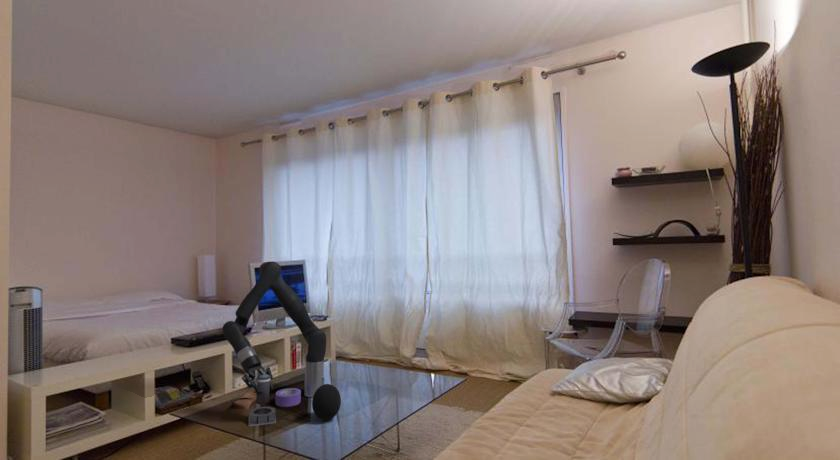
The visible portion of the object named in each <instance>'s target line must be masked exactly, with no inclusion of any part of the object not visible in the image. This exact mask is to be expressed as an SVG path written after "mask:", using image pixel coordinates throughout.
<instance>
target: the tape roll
mask: <svg viewBox="0 0 840 460" xmlns="http://www.w3.org/2000/svg"><path fill="white" fill-rule="evenodd" d="M301 395H302V390H301V389H299V388H296V387H288V388H282V389H279V390H277V391H276V392H275V398H274V399H275V403H274V404H275V405H276V406H277V407H285V408H288V407H289V408H290V407H294V406H298V405H299V404H300V403H301V400H302V399H301V397H302V396H301Z"/></svg>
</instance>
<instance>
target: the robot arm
mask: <svg viewBox="0 0 840 460" xmlns="http://www.w3.org/2000/svg"><path fill="white" fill-rule="evenodd" d="M258 274H259V277H258V280H257V282H256V283H255V284H254V286H253V288H251V290H250V291H249V292H248V293H247V294H246V295H245V297H244V298H243V299H242V301H241V303H240V304H239V306H238V308H237V309H236V310H235V320H234V321H233V320H229V321H227V322H225V323H224V324H223V326H222V335H223V336H224V338H225V340H227V342H228V343H229V344H230V345H231V347H232V349H233V351H234V353H235V355H236V357H237V360H238V362H239V364H240V366H241V367H242V370H243V371H244V374H243V375H242V376H241V380H242V381H243V382H244V384H245V385H246V386H247V387H248V388H249V389H252V388H253V390H254V391H255V393H256V394H258V395H261V393H262V390H261V388H260V386H259V385H258V382H257V377H258V376H259V375H264V374H266V375H270V389H269V392H272V391H273V389H274V385H273V384H272V380H273V378H274V376H273V374H272V370H271V368H270V367H269V366H267V367H266V368H264V366H262V362H261V359H260V357H259V356H258V354H257V353H256V350H255V349H254V347H253V345H252V344H251V343H250V341H249V339H248V338H247V337H245V336H244V333H245V332H246V329H247V328H248V327H247V326H248V324H249V321H250V318H251V316H252V315H253V314H254V312H255V310H256V309H257V307H258V305H259V304H260V302H261V301H262V299H263V297H265V295H266V293H268V290H269V288H270V290H271V291H272V292H273V294H274V295H275V298H276V299H277V301H278V302H279V304H280V306H281V307H282V308H283V310H284V312H285V313H286V314H287V315H288V317H289V318H290V319H291V321H293V323H294V324H295V325H296V326H297V328H298V330H300V333H301V335H302V336H303V339H304V341H306V343H307V353H306V355H305V364H304V366H305V368H304V390H303V392H304V397H307V398H313V396H314V393H315V392H316V390H317V389H318V388H319V387H320V386H322V385H324V384H325V375H324V373H325V372H324V370H325V366H324V365H325V355H326V351H327V335H326V333H325V331H323V330H321V329H320V328H319V327H318V326H317V325H316V324H315V323H314V322H313V320H312V319H311V318H310V315H309V313H308V310H307V307H306V306H305V304H304V303H303V300H302V299H301V298H300V297H299V295H298V294H297V293H296V292H295V290H293V289H292V287H290V286H289V285H288V284H287V283H286V282H285V280H284V279H283V277H282V275H281V274H282V267H281V265H280V264H279V263H278V262H276V261H266V262H263V263H261V264H260V266H259V267H258Z"/></svg>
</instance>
